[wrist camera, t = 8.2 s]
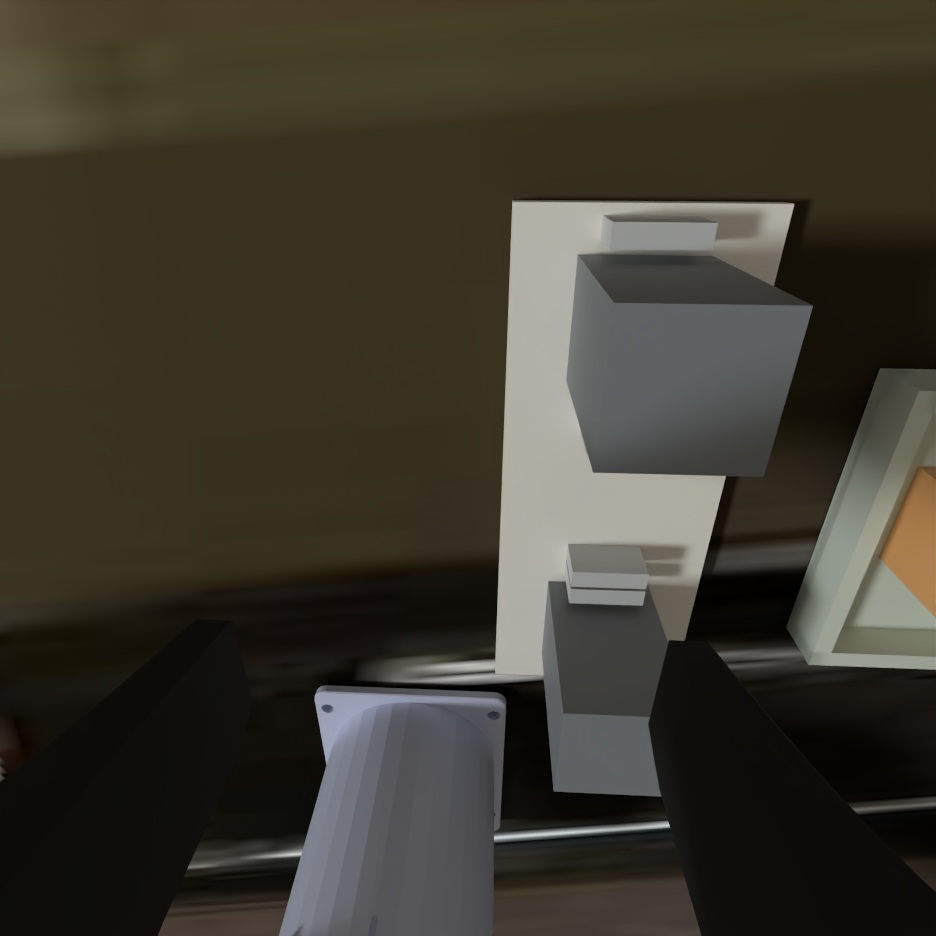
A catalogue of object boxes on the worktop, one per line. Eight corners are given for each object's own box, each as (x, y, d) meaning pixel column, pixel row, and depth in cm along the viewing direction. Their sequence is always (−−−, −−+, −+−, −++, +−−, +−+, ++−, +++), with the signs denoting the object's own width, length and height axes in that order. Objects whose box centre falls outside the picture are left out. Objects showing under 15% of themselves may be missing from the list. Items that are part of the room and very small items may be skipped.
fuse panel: (670, 668, 23) (722, 824, 18) (495, 661, 23) (494, 813, 18) (784, 201, 15) (942, 231, 10) (512, 199, 15) (520, 226, 10)
